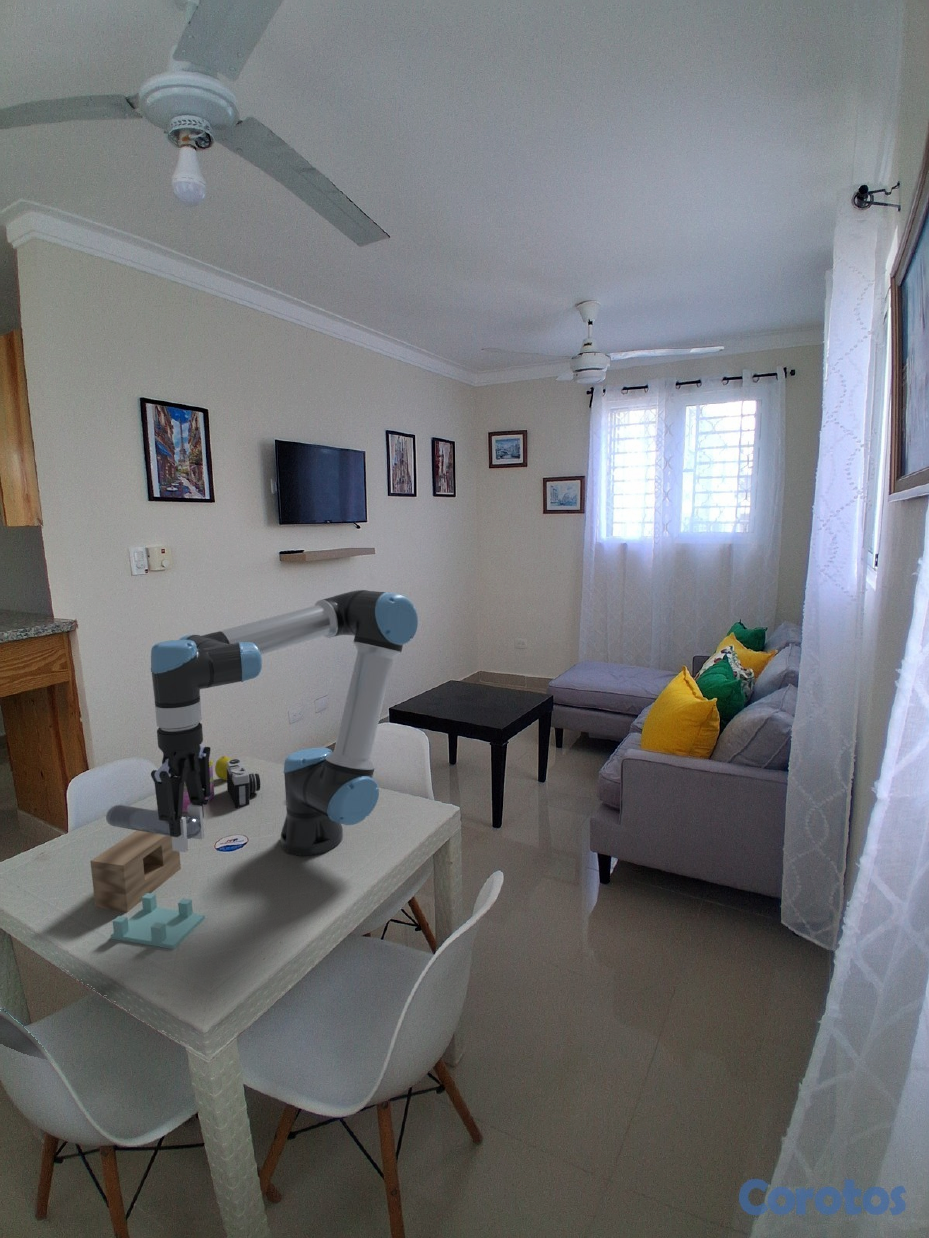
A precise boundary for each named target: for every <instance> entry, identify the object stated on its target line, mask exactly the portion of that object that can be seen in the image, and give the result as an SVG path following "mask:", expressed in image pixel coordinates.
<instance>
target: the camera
mask: <svg viewBox="0 0 929 1238" xmlns="http://www.w3.org/2000/svg"><path fill="white" fill-rule="evenodd" d="M226 787H227V789H226V790H227V792H228V794H229V797H230V799H231V801H232V802H231V803H232V804H233V806H234V808H235V809H238V808H242V807H246V806H250V802H251V801H250V799H251V797H250V795H252V794H253V793H256V792H259V791H260V790H261V777H260V775H259V773H254V772H252V773H249V772H248V770H247V768H246V767H245V765H244V763H243V761H242V759H240V758H238V759H237V758H233V759H231V760H230V761H227V780H226Z"/></svg>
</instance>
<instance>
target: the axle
mask: <svg viewBox="0 0 929 1238" xmlns="http://www.w3.org/2000/svg"><path fill="white" fill-rule="evenodd" d="M182 817H186V828H187V840H190V839H194V837H195V836H197V835H198V834H199V832H200V830H201V822H200V821H199V819H197V818H196V817H192V816H188V815H186V814H185V815H184V814H182ZM105 818H106V822H107V824H109V826H112V827H115V828H120V829H121V828H122V829H127V830H133V831H137V830H138V831H144V832H149V833H155V834H161V835H167V836H170V829H169V821H161V820H159V816H158V810H155V809H148V808H143V807H142V808H141V807H135V806H130V805H124V804H123V805H122V804H116V805H114V806H112V807H111V808H110V809H108V811H107V813H106V815H105Z"/></svg>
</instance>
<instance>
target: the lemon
mask: <svg viewBox="0 0 929 1238" xmlns="http://www.w3.org/2000/svg"><path fill="white" fill-rule="evenodd" d="M230 760H232V758H230V757H229V756H225V755H223V756H221V757H220V758H218V760H217V761H216V763H215V766H214V772H215V775H216V777H218V778H219V779H220V780H223V781H227V761H230Z"/></svg>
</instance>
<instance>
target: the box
mask: <svg viewBox="0 0 929 1238" xmlns="http://www.w3.org/2000/svg"><path fill="white" fill-rule="evenodd" d="M209 769H210V792H211V793H210V796H209V797H206V798H205V799H207V800H208V803H209V802H211V800H212V799H213V798H214V797H215V785H214V783H215V782H214V770H213V769H214V768H213V758H211V757H209ZM176 777H178V776H176ZM203 790H204V789H203ZM188 805H192V803H190V800H189V795H188V791H187V787H186V783H185V782H184V793H183V810H182V813H188V811H187V806H188ZM205 806H206V805H203V808H204V807H205Z"/></svg>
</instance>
